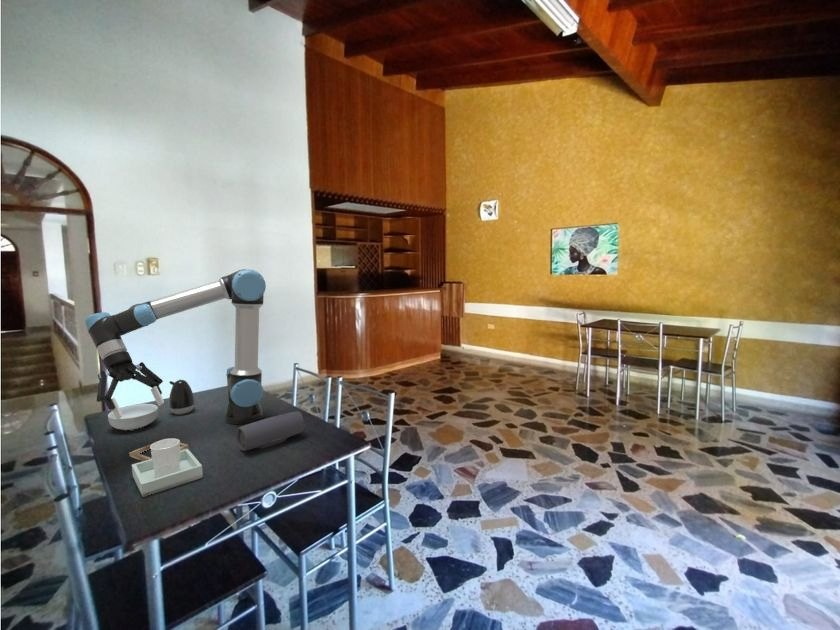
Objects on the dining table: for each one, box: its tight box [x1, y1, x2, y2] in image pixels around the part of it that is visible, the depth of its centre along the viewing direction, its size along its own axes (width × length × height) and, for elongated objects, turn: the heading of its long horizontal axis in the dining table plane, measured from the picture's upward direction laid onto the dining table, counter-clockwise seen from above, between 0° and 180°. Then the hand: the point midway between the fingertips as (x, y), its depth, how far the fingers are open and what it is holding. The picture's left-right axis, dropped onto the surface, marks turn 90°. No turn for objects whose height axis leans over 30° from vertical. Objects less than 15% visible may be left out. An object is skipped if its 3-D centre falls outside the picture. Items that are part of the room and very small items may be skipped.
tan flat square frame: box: [128, 437, 189, 462], centre depth 146 cm, size 13×13×2 cm
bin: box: [131, 449, 204, 498], centre depth 129 cm, size 16×16×4 cm
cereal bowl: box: [107, 403, 159, 431], centre depth 169 cm, size 17×17×7 cm
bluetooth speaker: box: [236, 411, 306, 452], centre depth 153 cm, size 23×9×10 cm, turn 135°
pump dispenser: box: [168, 379, 196, 415], centre depth 184 cm, size 10×10×15 cm
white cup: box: [150, 437, 181, 478], centre depth 129 cm, size 8×8×10 cm
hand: (141, 410), depth 137 cm, fingers open, 13 cm apart
